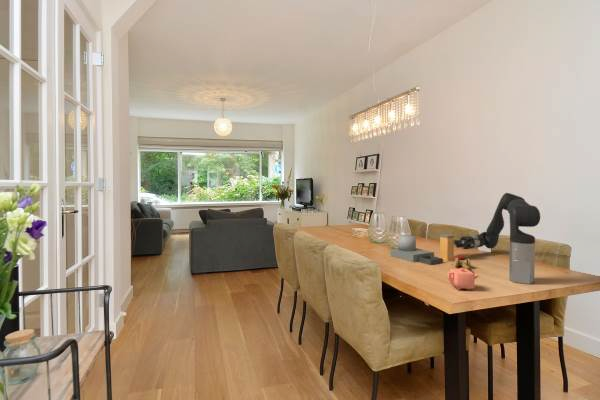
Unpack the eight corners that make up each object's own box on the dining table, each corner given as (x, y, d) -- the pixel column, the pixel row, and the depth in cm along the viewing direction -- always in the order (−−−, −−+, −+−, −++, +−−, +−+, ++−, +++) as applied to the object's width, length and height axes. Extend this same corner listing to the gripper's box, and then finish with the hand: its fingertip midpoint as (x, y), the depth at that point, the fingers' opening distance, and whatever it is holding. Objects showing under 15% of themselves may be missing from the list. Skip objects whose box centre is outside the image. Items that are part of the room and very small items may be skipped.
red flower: (478, 276, 160) (466, 262, 178) (476, 264, 159) (464, 251, 177) (461, 278, 162) (451, 264, 179) (459, 266, 161) (449, 253, 178)
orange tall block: (446, 258, 193) (446, 234, 193) (454, 260, 188) (454, 235, 188) (439, 259, 191) (439, 234, 190) (447, 261, 186) (447, 236, 185)
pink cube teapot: (482, 291, 134) (482, 271, 134) (451, 290, 135) (451, 270, 135) (474, 285, 142) (474, 266, 141) (445, 285, 143) (445, 265, 143)
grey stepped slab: (410, 253, 208) (410, 234, 207) (447, 262, 183) (447, 240, 183) (390, 256, 201) (390, 236, 200) (425, 265, 176) (426, 243, 176)
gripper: (459, 234, 204) (440, 236, 197) (480, 237, 191) (461, 239, 184) (459, 246, 204) (440, 249, 197) (480, 250, 191) (461, 253, 184)
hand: (450, 244), depth 190 cm, fingers open, 8 cm apart
